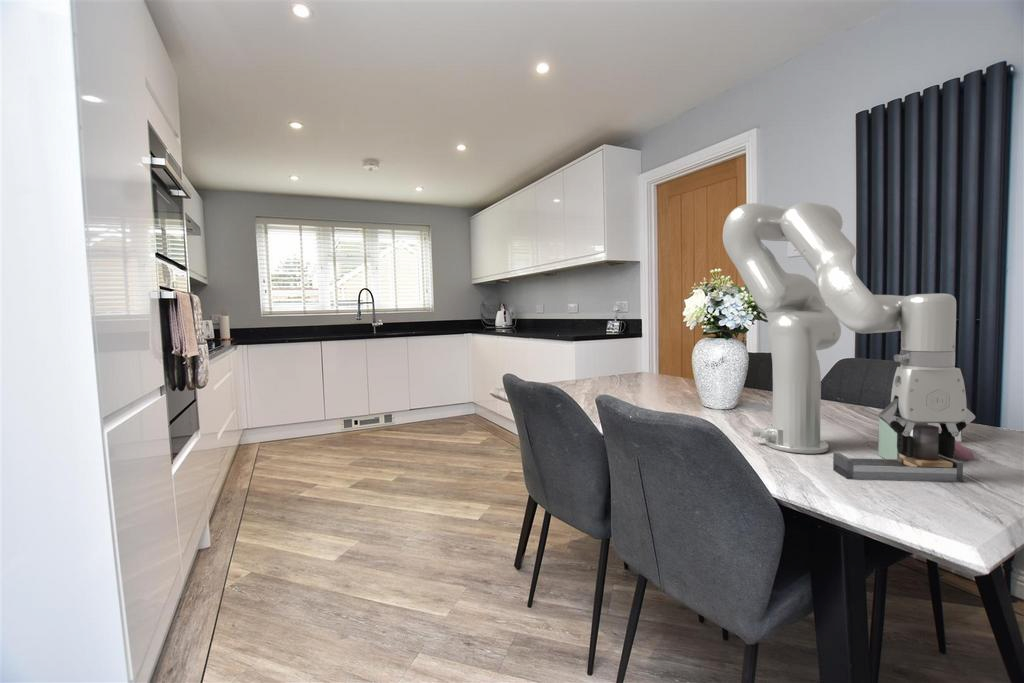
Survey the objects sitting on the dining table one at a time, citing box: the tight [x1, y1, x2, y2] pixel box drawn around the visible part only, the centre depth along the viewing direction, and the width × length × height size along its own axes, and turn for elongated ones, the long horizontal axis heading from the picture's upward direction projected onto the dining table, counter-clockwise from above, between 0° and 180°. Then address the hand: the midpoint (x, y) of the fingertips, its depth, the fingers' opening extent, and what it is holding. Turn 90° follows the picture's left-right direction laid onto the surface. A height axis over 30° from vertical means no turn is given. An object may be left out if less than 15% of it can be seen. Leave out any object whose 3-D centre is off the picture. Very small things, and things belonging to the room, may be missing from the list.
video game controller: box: [937, 426, 974, 461], centre depth 100 cm, size 10×5×7 cm, turn 154°
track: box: [832, 452, 964, 483], centre depth 87 cm, size 19×5×4 cm, turn 81°
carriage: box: [899, 424, 953, 467], centre depth 86 cm, size 5×6×8 cm
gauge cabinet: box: [877, 416, 928, 459], centre depth 96 cm, size 6×7×9 cm
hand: (925, 454), depth 86 cm, fingers open, 5 cm apart
